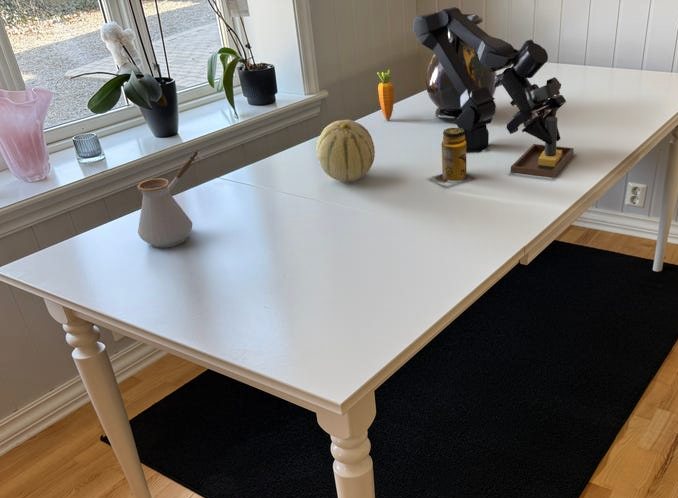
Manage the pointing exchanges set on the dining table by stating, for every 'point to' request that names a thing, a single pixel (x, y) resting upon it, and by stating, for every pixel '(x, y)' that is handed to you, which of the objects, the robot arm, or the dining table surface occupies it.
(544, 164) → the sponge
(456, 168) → the condiment
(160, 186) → the coffee pot
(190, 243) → the dining table surface
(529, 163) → the tray
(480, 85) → the amphora vase
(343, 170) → the cantaloupe
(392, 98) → the carrot
